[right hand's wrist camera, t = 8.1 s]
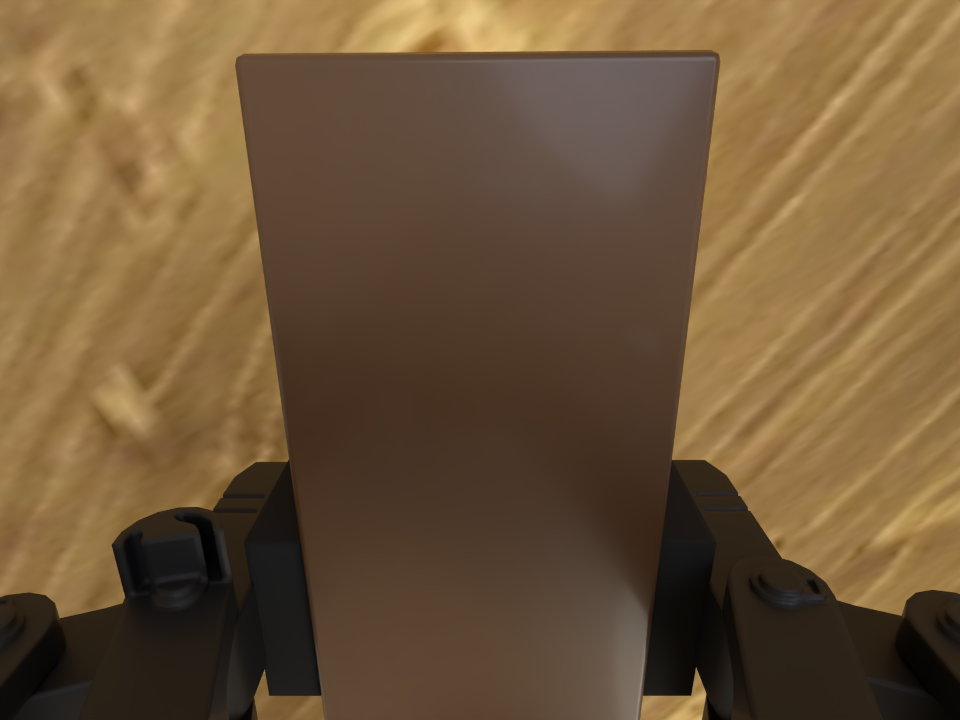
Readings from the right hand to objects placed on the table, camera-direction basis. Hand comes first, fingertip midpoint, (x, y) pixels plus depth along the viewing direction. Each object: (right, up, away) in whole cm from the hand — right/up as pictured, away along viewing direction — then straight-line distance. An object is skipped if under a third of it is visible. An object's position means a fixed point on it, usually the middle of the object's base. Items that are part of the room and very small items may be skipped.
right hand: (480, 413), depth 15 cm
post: (0, -18, +8) cm, 20 cm away
